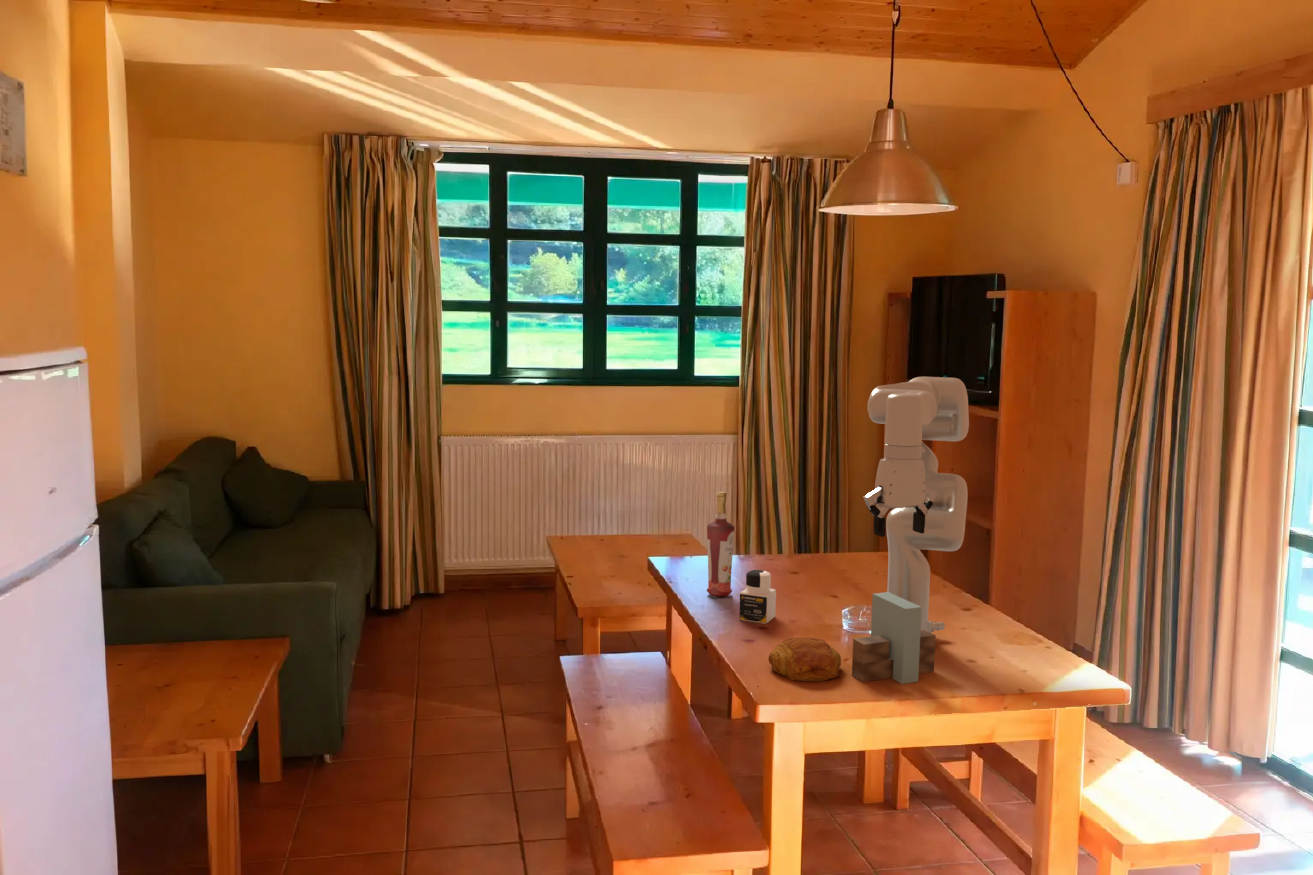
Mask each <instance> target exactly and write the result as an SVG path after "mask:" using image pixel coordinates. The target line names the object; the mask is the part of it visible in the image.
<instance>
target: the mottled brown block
mask: <svg viewBox="0 0 1313 875" xmlns="http://www.w3.org/2000/svg"><path fill="white" fill-rule="evenodd" d="M936 637H937V636H936V634H933V632H931V633H930V632H928V631H926V630H921V631H920V652H919V673H918V675H919V674H925V673H931V672H933V673H934V671H935V661H936V660H935V659H936V658H935V656H936V639H937V638H936ZM893 662H894V660H892V659H890V658H889V641H888V640H886V639H884V638H882V637H880V636H871V635H870V636H864V637H858V638H857V637H856V638H853V640H852V661H851V676H852V677H854V678H856V679H857V680H859V681H860V682H863V683H864V682H869V681H877V680H885V679H891V678H892V679H893Z"/></svg>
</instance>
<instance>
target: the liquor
mask: <svg viewBox="0 0 1313 875" xmlns="http://www.w3.org/2000/svg"><path fill="white" fill-rule="evenodd" d="M715 494H716V495H715V496H716V497H715V498H716V511H715V512H716V513H715V520H714V521H712V522H710V523H709V524H708V525H707V526H706V532H707V533H706V539H707V540H706V542H707V547H706V548H707V560H708V561H707V563H708V564H707V569H708V570H707V573H708V575H707V576H708V577H707V578H708V585H707V589H706V592H707V593H708V594H709V595H710V596H711V597H713V598H716V599H717V598H718V599H719V598H720V599H723V598H728V597H729V595H731V594H732V592H733V590H732V588H731V586H732V567H733V554H734V545H735V544H734V543H735V526H734V525H733V524H732V523H731V522H729V521H727V508H726V507H727V506H726V502H727V494H728V493H727V492H726V491H717V492H716V493H715Z"/></svg>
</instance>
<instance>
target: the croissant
mask: <svg viewBox="0 0 1313 875" xmlns="http://www.w3.org/2000/svg"><path fill="white" fill-rule="evenodd" d="M768 662H769V663H768V664H769V665H771V669H772V670H773V671H774V672H775V673H777V674H778V675H782V676H783V677H788V679H789V680H790V681H798V682H799V681H800V682H824V681H826V680H830V679H835V678H838V677H839V675H840V674H839V670H840V667H841V666H842V658H841V654H840V652H839V651H838V650H836V649H835V648H834V647H833V646H832V645H831V644H828V642H827V641H825V640H824V639H821V638H818V637H806V636H804V637H794V638H787V639H784V640H782V641H781V642H780V643H779V644H777V645H776V646H775V647H774V648H773V649H772V651H770V653H769V655H768Z"/></svg>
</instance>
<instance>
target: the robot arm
mask: <svg viewBox="0 0 1313 875" xmlns="http://www.w3.org/2000/svg"><path fill="white" fill-rule="evenodd" d="M867 413H868V417H869V419H870V420H871V421H872V422H873V423H875V424H882V425H884V444H883V458H880V459H879V462H878V467H877V471H876V476H875V481H874V482H875V484H874V490H872V491H870V492H868V493H867V494H866V495H865V496H863V500H864V503H865V506H866V509H867V510H868V511H869V513H871V515H872V516H873V534H874V535H876V536H878V537H881V538H883V537H885V536H886V537H887V548H888V549H887V550H888V551H887V552H888V556H887V557H888V562H887V563H888V565H887V586H886V587H887V589H886V590H887V591H886V592H889V593H891V594H894V595H896V596H898V597H900V598H903V599H905V600H907V601H909V602H912V603H914V604H916V605H918V606H920V607H922V610H921V630H926V631H928V632H930V633H934V631H943V630H945V629H946V628H945V627H946V625H945V623H944V621H938V622H937V621H936V622H934V621H933V620H929V607H930V606H929V604H930V602H929V601H930V587H931V586H930V584H931V582H930V581H931V568H930V564H929V562H928V559H927V558H926V557H925V555H924V554H923V552H922V550H923V551H924V550H925V551H926V550H927V551H940V552H955V551H958V550H959V549H960V548H961V547H962V545H963V543H964V538H965V532H966V521H967V520H966V519H967V509H968V498H969V497H968V495H969V494H968V485H967V482H966V480H965V478H963V477H962V476H961V475H959V474H955V473H945V472H938V469H939V460H938V458H937V456H936V454H935V453H934V452H933V451H932V449H931V448H930V447H929V446H927V444H925V443H924V442H923V441H938V442H942V441H943V442H960V441H962V440H964V439H965V438H966V437H967V435H968V433H969V428H970V421H969V420H970V416H969V415H970V414H969V396H968V391H967V388H966V385H965V383H964V382H963V381H962V380H961V379H960V378H957V377H940V376H917V377H914V378H912V379H910V380H908V381H906V382H899V383H891V384H884V385H878V386H876V387H874V389H873V390H872V391H871V393H870V395H869V397H868V400H867ZM875 504H876V505H875ZM890 509H891V510H890ZM889 510H890V511H889ZM888 511H889V513H888V514H887V516H886V517H884V516H885V515H886V513H887V512H888Z"/></svg>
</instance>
